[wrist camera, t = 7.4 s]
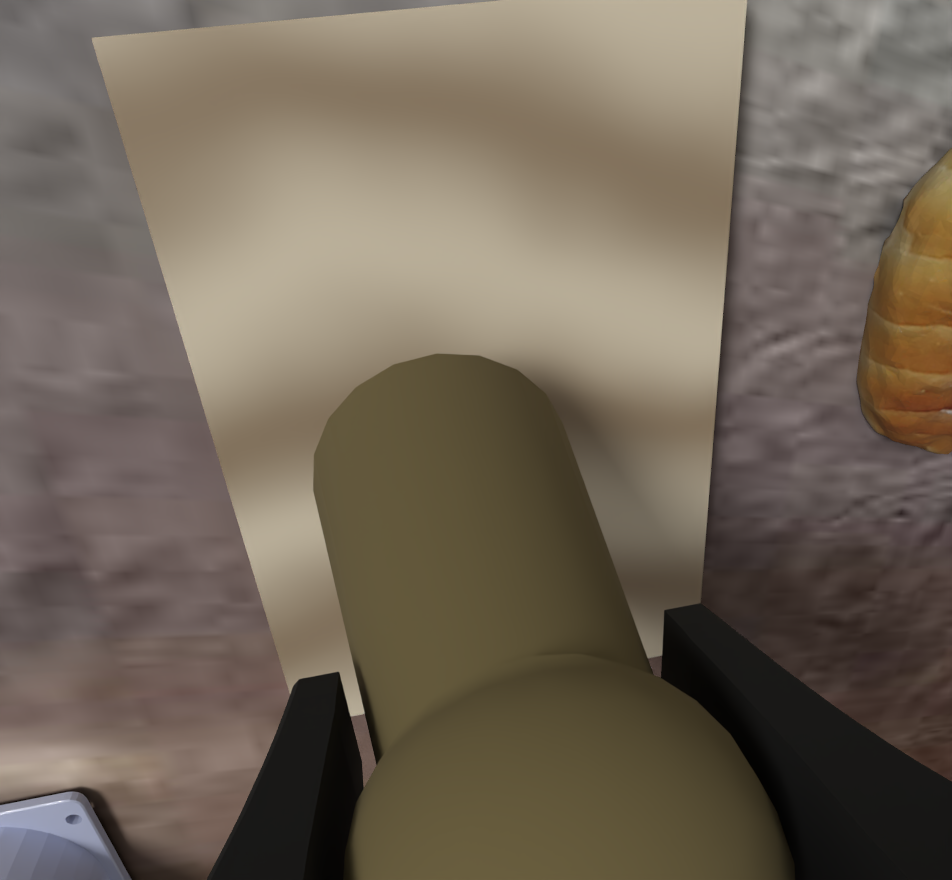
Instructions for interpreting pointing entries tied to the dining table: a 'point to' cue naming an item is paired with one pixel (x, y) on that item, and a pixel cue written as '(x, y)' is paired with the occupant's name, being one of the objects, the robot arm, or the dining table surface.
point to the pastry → (913, 322)
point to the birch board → (447, 251)
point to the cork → (510, 655)
